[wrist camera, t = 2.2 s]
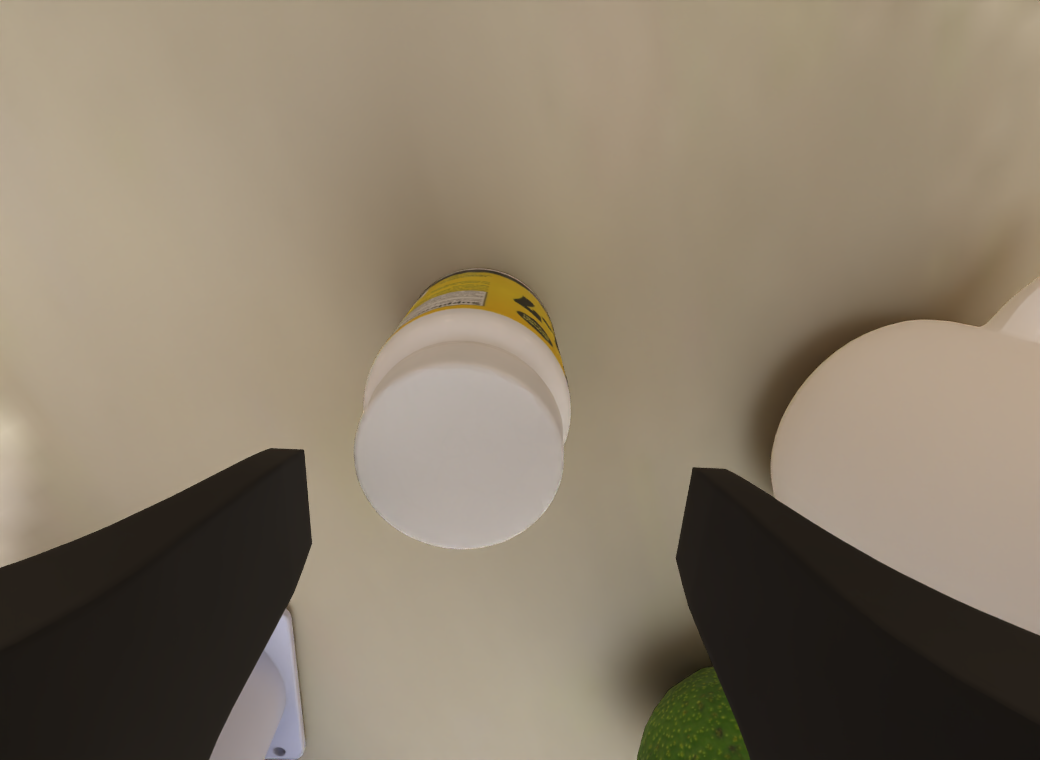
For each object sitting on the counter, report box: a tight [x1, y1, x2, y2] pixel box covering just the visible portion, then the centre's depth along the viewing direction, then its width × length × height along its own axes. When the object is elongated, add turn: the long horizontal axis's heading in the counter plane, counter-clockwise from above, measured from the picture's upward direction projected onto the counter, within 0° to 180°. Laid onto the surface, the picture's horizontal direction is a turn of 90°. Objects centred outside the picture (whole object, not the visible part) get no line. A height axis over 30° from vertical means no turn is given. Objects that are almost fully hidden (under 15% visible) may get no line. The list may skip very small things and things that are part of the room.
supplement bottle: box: [354, 268, 571, 549], centre depth 15 cm, size 5×5×8 cm
